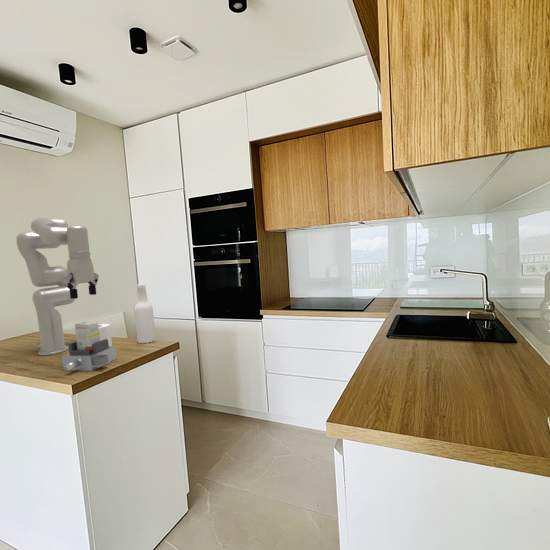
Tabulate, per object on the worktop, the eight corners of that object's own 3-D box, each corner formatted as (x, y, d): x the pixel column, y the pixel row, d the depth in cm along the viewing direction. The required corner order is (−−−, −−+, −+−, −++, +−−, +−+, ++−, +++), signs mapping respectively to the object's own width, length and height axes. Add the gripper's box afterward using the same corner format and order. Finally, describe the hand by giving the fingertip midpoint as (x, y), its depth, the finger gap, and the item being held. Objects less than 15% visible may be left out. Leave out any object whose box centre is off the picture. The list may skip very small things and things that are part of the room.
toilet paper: (115, 349, 158) (112, 325, 157) (91, 355, 151) (88, 329, 150) (109, 345, 166) (106, 322, 165) (86, 351, 159) (83, 326, 158)
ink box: (101, 349, 139) (98, 322, 138) (91, 353, 134) (88, 324, 133) (87, 348, 142) (84, 321, 141) (77, 351, 138) (73, 324, 137)
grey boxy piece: (53, 374, 129) (50, 349, 128) (90, 358, 147) (87, 336, 146) (91, 375, 125) (88, 350, 124) (123, 359, 143) (121, 336, 142)
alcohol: (144, 344, 163) (138, 285, 161) (134, 342, 168) (128, 285, 166) (159, 339, 171) (153, 283, 168) (148, 338, 176) (143, 283, 173)
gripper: (88, 255, 146) (92, 293, 147) (53, 257, 129) (58, 300, 131) (102, 254, 144) (106, 293, 145) (69, 256, 127) (73, 300, 129)
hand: (83, 296), depth 138 cm, fingers open, 9 cm apart
